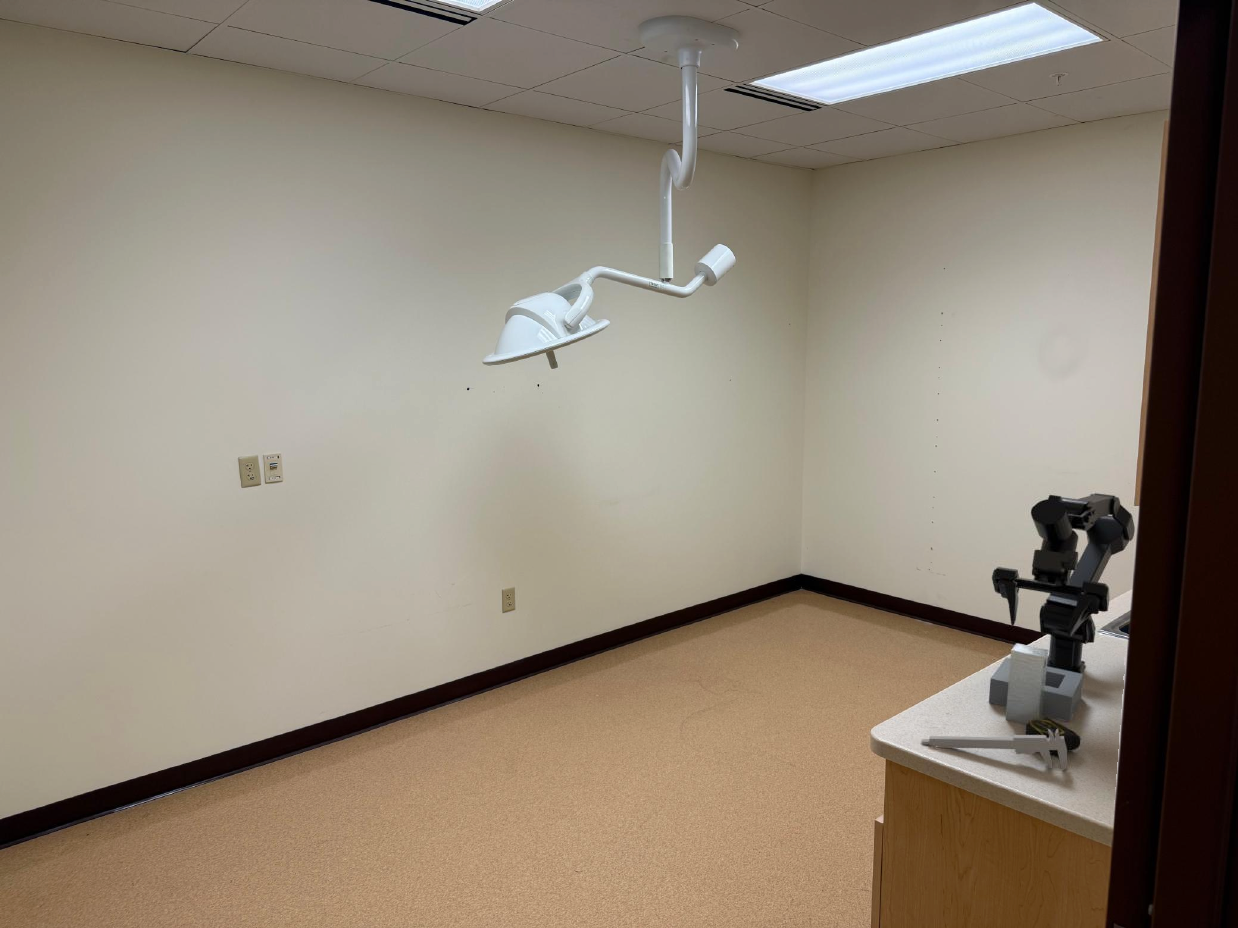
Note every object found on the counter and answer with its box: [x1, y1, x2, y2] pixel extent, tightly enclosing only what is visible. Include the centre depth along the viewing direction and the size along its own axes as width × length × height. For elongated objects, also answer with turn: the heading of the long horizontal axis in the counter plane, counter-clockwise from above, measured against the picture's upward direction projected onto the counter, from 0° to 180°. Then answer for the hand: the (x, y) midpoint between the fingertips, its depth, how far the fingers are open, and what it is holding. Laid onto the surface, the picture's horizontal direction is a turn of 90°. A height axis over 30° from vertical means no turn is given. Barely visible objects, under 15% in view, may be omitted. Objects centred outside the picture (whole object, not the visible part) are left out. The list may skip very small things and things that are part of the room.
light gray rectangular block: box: [1005, 642, 1049, 726], centre depth 144 cm, size 4×5×12 cm
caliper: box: [920, 729, 1068, 771], centre depth 132 cm, size 21×1×6 cm, turn 66°
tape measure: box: [1024, 716, 1082, 755], centre depth 135 cm, size 7×7×4 cm
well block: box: [988, 657, 1084, 723], centre depth 152 cm, size 12×13×4 cm
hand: (1040, 629), depth 149 cm, fingers open, 9 cm apart
